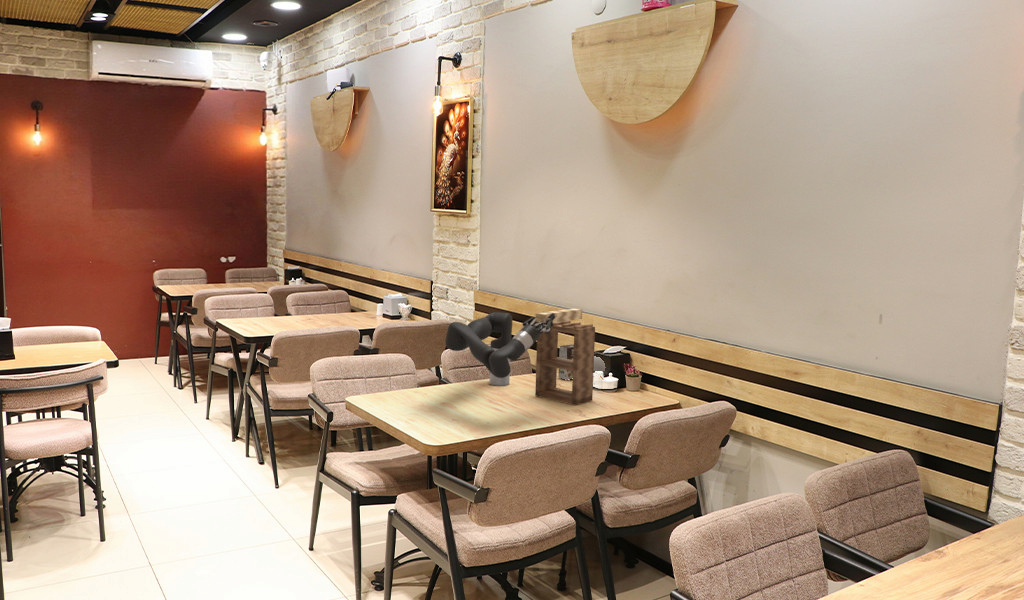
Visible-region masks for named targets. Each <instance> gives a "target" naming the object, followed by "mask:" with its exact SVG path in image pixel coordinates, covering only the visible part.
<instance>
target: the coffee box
mask: <svg viewBox="0 0 1024 600" xmlns="http://www.w3.org/2000/svg"><path fill="white" fill-rule="evenodd" d="M573 353H574V343H573V344H564V345H559V352H558V354H559V356H558V358H564V359H569V360H573ZM558 377H559V378H562V379H566V380H568V379H572V378H573V371H569V370H564V369H560V368H558V374H557V378H558ZM559 378H558V379H559ZM562 379H561V380H562ZM566 380H565V381H566ZM568 381H569V380H568Z"/></svg>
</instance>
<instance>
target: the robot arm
mask: <svg viewBox="0 0 1024 600" xmlns="http://www.w3.org/2000/svg"><path fill="white" fill-rule="evenodd" d="M543 312H544V311H542V312H541V313H543ZM553 319H555V315H554V313H552V314H551V315H550V316H549V317H548V318H547V319H545V320H542V321H541V322H536V319H535V316H531V317H530V318H528V319H527V320H525V321H524V322H522V323H521V325H522V328H521V329H520V330H519V331H517V333H515V335H514V336H513V337H512V334H513V315H511V313H508V312H502V311H501V312H500V311H493V312H490V313H489V314H487V315H485V316H484V317H481V318H477V319H475V320H472V321H470V322H469V323H468V324H466V323H463V322H459V321H453V322H450V324H449V325H448V327H447V330H446V331H447V332H446V336H445V341H444V344H445V346H446V347H447V349H448V350H450V351H454V352H461V351H464V350H466V349H467V348H469V350H470V353H471V355H472V356H473V357H474V358H475V359H476V360H477V361H478V362H480V363H481V364H482V365H484V367H486V369H487V370H488V371H489V384H490V385H492V386H503V387H504V386H509V384H510V376H511V374H510V373H511V361H512V362H513V361H517V360H518V359H519V358H520V357H521V356H522V355H523V354H524V353H525V352H526V351H528V350H529V349H530V348H531V347H532V346H533V345H534V344H535V343H537V340H538V338H539V335H540V334H541V333H543V332H546V331H547V333H550V331H551V329H552V327H553V322H552V321H553ZM546 322H548V323H547V324H546ZM543 324H544V326H543ZM492 333H501V336H500V337H499V338H495V339H492V340H491V341H490V343H489V344H490V346H489V345H488V344H487V343H485V342H484V340H485V339H488V338H489V337H490V336H491V335H492Z"/></svg>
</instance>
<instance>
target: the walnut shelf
mask: <svg viewBox="0 0 1024 600" xmlns="http://www.w3.org/2000/svg"><path fill="white" fill-rule="evenodd" d="M571 321H572V320H571ZM571 321H564V322H557V323H553V327H552V329H551V331H550V333H547V331H546V332H543V333H541V334H540V335H539V338H538V340H537V341H536V360H535V361H536V363H535V364H536V365H535V391H534V392H535V394H534V395H537V396H536V397H539V396H541V397H540V398H543V397H544V399H547V398H548V400H553V401H556V402H560V403H565V404H569V405H573V406H577V405H578V406H579V405H581V404H585V403H587V402H591V401H593V394H594V388H593V384H594V372H595V371H594V354H595V344H596V343H595V341H596V326H594V324H593V323H590V324H581V322H580V321H577V322H571ZM543 326H544V325H543ZM559 332H560V333H566V334H572V335H573V345H574V353H573V360H569V359H564V358H559V356H558V349H559V348H558V347H559V346H558V343H559V342H558V341H559ZM559 368H560V369H564V370H569V371H573V380H571V381H572V383H571V384H572V387H571V390H569V389H564V388H560V387H557V378H558V374H557V372H558V370H557V369H559Z"/></svg>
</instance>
